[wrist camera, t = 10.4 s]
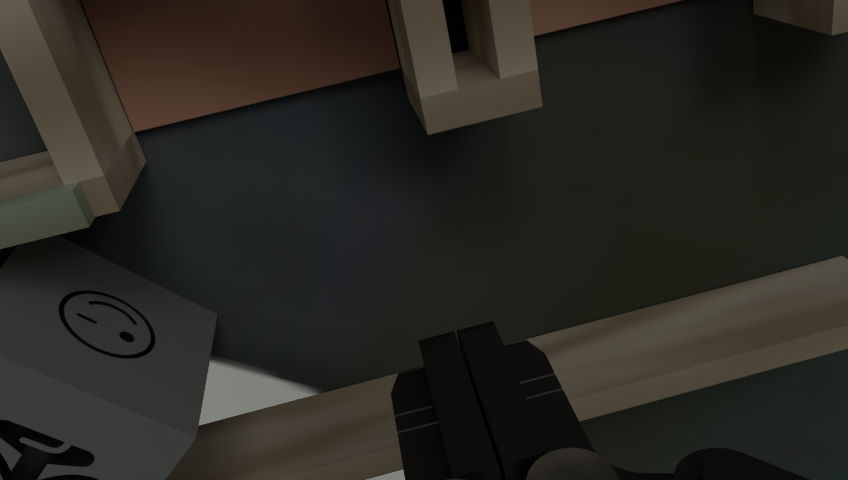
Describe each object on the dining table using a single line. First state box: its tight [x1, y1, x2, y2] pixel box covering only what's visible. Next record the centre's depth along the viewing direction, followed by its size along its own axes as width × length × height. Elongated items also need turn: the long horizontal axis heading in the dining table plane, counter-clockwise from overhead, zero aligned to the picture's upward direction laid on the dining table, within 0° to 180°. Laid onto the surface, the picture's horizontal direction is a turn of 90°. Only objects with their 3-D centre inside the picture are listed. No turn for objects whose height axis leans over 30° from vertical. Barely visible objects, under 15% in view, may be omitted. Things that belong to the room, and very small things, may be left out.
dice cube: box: [0, 235, 218, 480], centre depth 17 cm, size 5×5×5 cm
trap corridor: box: [0, 0, 848, 480], centre depth 17 cm, size 15×27×4 cm, turn 102°
